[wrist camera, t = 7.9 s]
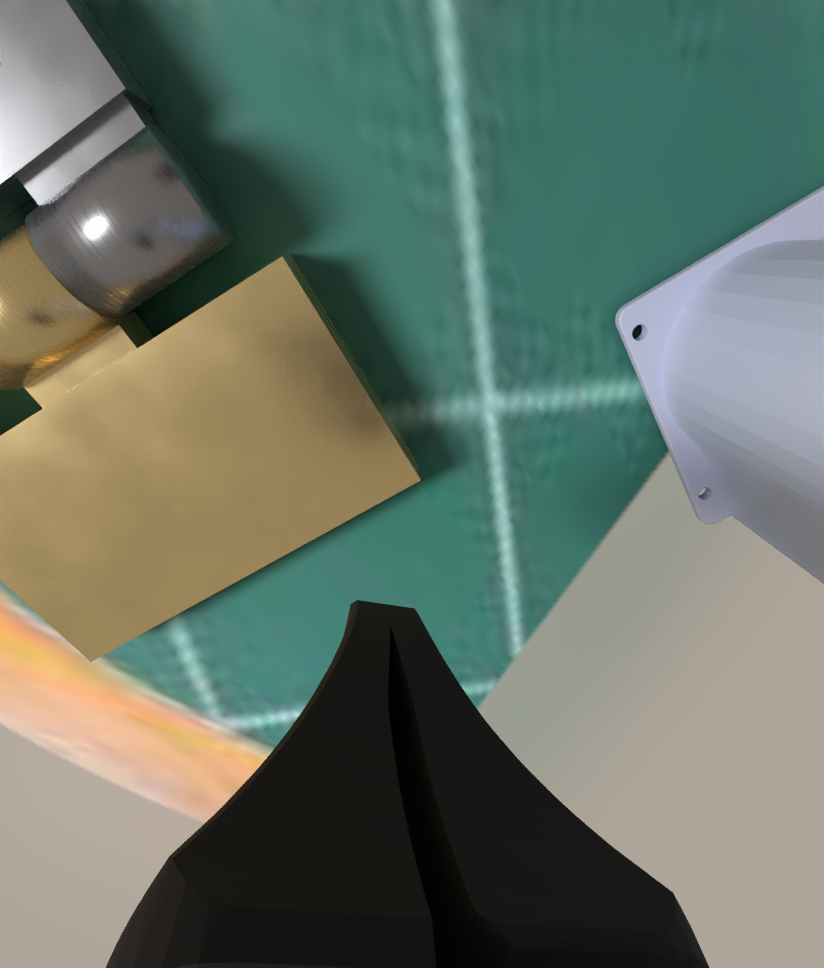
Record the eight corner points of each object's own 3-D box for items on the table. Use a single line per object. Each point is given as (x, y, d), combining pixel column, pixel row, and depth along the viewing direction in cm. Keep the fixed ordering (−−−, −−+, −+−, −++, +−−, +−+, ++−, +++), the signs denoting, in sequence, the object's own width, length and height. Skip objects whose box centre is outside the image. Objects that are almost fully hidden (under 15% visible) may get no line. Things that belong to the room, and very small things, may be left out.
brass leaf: (415, 458, 20) (424, 495, 18) (112, 626, 22) (75, 685, 19) (209, 120, 16) (174, 94, 13) (-154, 370, 18) (-256, 398, 15)
